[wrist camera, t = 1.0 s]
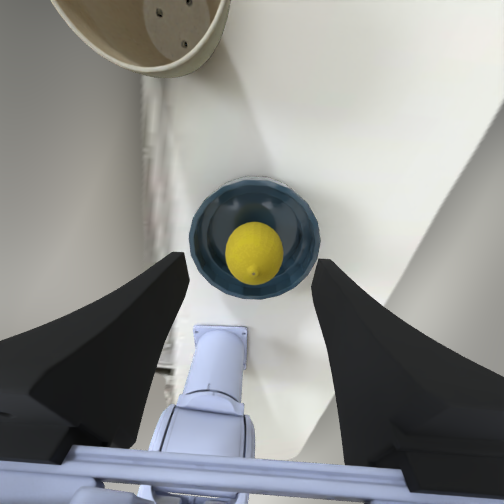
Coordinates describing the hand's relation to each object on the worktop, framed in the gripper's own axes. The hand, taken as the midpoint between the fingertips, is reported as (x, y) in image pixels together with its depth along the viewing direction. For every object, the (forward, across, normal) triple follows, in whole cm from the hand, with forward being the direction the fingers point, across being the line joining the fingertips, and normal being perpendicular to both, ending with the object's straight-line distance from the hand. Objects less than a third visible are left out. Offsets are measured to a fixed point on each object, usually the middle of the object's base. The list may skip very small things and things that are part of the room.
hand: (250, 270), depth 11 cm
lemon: (+12, 0, +5) cm, 12 cm away
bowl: (+12, 0, +5) cm, 13 cm away
